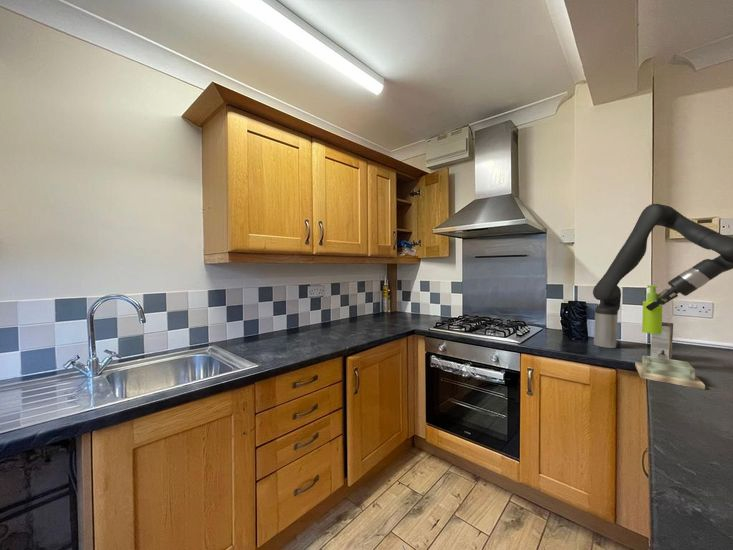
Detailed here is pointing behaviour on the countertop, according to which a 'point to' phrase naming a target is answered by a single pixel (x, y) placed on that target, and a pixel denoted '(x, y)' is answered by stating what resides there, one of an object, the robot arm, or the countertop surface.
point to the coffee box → (662, 342)
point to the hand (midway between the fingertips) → (646, 308)
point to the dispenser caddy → (668, 371)
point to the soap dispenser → (652, 314)
